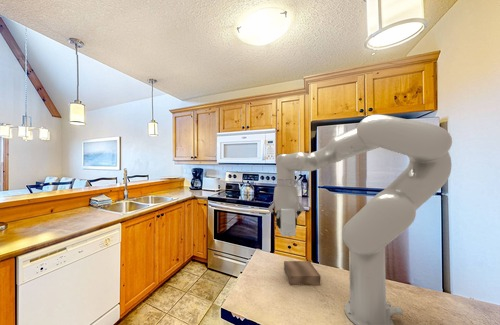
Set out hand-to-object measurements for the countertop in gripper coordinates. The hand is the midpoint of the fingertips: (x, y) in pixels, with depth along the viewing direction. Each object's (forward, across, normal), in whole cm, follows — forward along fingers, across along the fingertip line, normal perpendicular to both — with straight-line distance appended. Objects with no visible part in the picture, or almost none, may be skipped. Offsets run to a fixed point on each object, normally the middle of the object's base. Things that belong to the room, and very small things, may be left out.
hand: (286, 226), depth 75 cm
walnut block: (+23, -7, -3) cm, 24 cm away
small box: (+3, 0, 0) cm, 3 cm away
